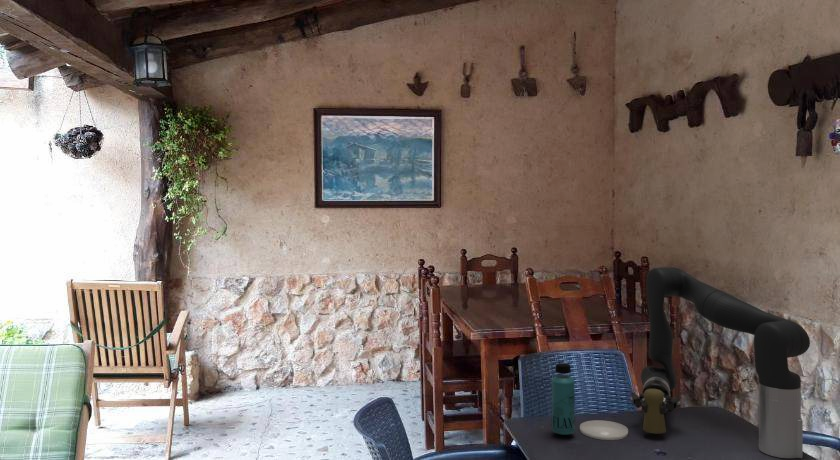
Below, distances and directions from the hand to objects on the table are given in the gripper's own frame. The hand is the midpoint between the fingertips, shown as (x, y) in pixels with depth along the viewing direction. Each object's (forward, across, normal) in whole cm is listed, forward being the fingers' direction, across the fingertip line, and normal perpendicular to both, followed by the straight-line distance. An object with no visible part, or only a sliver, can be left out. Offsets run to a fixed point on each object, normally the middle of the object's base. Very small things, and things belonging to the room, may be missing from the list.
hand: (653, 409), depth 165 cm
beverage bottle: (+6, -23, +8) cm, 25 cm away
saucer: (-1, -13, +8) cm, 15 cm away
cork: (-2, 0, +6) cm, 6 cm away
